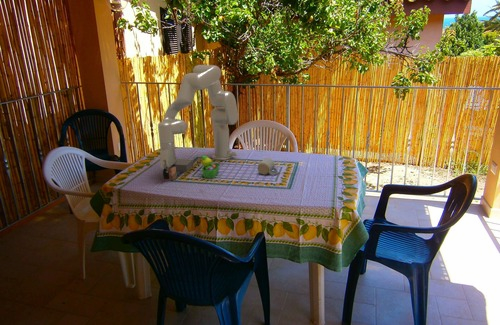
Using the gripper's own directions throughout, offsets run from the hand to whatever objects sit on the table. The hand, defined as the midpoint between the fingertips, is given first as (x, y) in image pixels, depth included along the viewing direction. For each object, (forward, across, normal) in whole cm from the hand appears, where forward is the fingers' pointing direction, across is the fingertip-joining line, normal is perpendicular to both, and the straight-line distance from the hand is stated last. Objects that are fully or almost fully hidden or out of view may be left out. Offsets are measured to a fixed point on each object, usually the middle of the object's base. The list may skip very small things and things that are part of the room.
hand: (170, 175), depth 204 cm
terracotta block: (+1, 0, 0) cm, 1 cm away
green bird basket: (+2, -8, +20) cm, 22 cm away
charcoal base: (+1, -16, 0) cm, 16 cm away
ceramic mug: (+2, -17, +51) cm, 54 cm away
